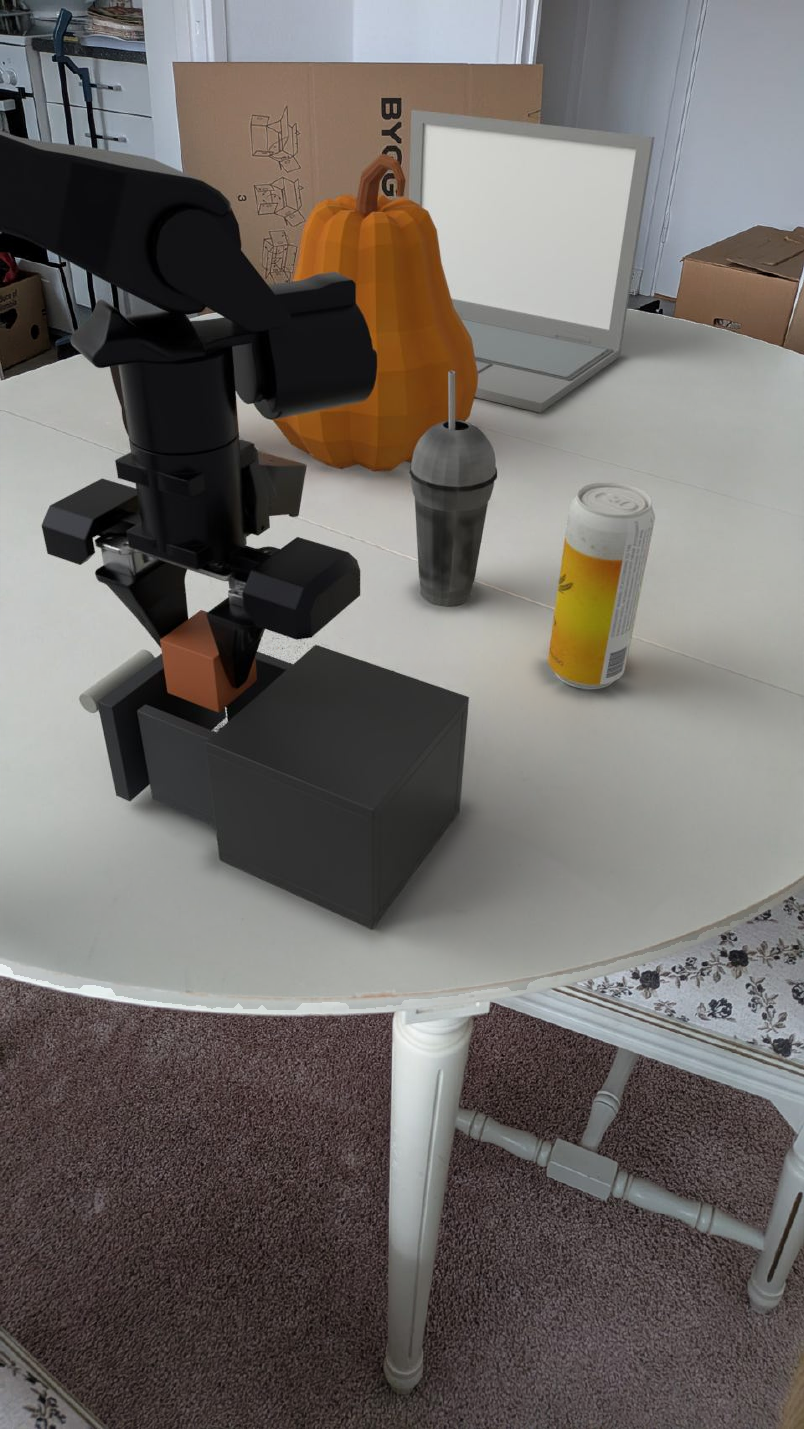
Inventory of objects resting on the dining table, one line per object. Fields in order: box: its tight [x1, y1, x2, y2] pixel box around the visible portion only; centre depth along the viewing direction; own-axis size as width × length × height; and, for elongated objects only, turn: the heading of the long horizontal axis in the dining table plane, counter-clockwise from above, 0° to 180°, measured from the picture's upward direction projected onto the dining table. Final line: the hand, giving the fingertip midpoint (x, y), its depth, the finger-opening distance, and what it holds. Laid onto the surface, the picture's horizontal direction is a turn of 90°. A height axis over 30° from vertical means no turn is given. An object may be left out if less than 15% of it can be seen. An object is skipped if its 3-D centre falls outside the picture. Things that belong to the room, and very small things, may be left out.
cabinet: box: [205, 644, 470, 930], centre depth 61 cm, size 11×12×10 cm
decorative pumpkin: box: [272, 153, 478, 473], centre depth 104 cm, size 24×24×30 cm
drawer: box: [78, 649, 294, 828], centre depth 66 cm, size 14×10×8 cm
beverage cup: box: [408, 371, 498, 607], centre depth 82 cm, size 7×7×20 cm
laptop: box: [408, 109, 656, 414], centre depth 130 cm, size 35×26×27 cm
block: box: [160, 609, 257, 713], centre depth 62 cm, size 4×4×4 cm
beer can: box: [547, 481, 656, 690], centre depth 75 cm, size 6×6×15 cm
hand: (210, 674), depth 62 cm, fingers closed on block, 4 cm apart
